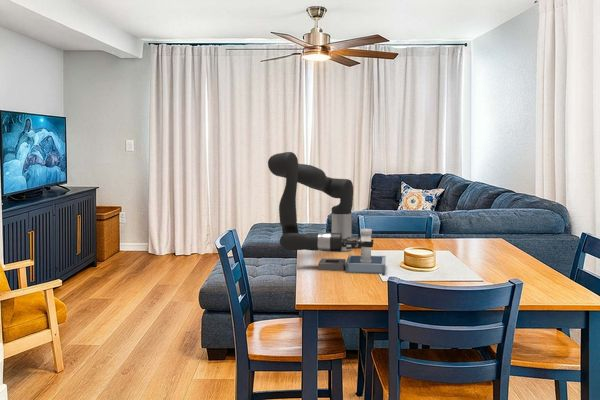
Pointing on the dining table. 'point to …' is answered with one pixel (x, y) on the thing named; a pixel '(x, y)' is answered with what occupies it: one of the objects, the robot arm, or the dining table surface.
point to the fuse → (366, 250)
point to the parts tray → (365, 265)
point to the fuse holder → (331, 264)
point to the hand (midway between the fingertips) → (372, 243)
